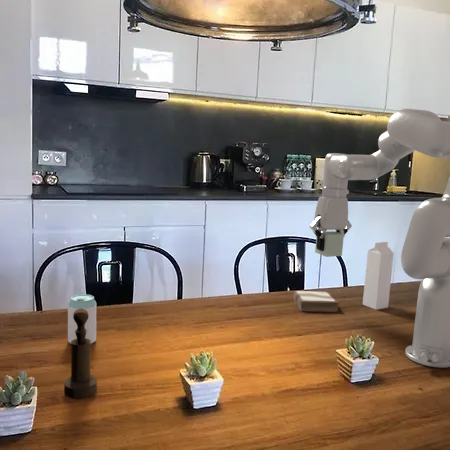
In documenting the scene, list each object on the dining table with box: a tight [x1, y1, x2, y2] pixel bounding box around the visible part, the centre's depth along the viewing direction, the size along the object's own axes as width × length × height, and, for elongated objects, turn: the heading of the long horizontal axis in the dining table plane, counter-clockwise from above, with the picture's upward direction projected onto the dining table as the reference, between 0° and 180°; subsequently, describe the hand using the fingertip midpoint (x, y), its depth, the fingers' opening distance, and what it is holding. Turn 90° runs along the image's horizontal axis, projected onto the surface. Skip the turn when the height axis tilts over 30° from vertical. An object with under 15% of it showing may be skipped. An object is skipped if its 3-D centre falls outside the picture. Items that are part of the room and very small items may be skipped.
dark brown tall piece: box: [63, 309, 98, 400], centre depth 110 cm, size 7×6×18 cm
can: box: [67, 293, 97, 345], centre depth 136 cm, size 7×7×12 cm
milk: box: [362, 241, 395, 311], centre depth 178 cm, size 6×6×22 cm
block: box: [314, 230, 345, 257], centre depth 169 cm, size 6×6×7 cm
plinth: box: [292, 290, 339, 313], centre depth 177 cm, size 12×12×3 cm
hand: (328, 249), depth 169 cm, fingers closed on block, 6 cm apart
